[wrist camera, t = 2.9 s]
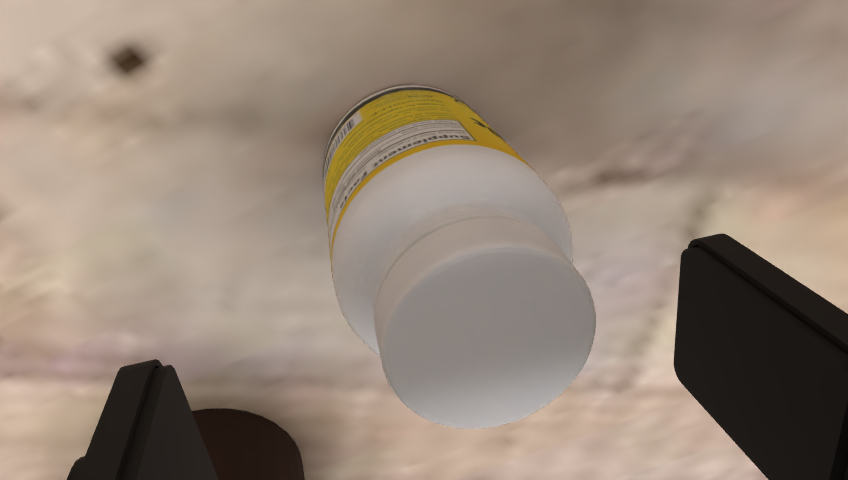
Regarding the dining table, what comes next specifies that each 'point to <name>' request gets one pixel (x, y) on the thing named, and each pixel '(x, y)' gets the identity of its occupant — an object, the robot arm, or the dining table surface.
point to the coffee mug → (248, 446)
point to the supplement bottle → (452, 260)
